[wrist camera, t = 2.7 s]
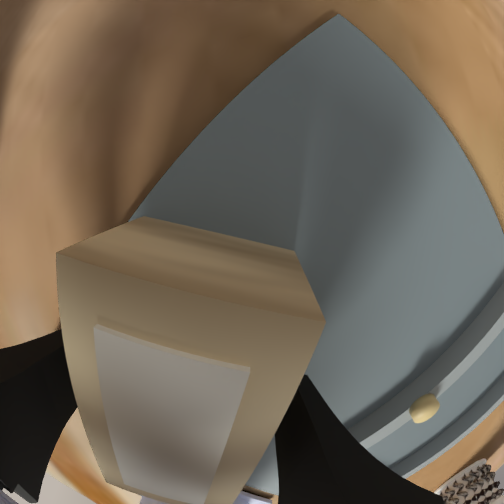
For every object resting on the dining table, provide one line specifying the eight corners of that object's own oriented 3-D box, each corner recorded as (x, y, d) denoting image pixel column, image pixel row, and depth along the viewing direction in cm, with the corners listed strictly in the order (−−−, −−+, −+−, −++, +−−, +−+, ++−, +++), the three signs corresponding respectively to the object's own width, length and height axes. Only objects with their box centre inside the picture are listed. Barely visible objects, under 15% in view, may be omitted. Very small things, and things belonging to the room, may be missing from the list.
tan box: (232, 440, 11) (224, 517, 7) (136, 415, 11) (105, 484, 7) (294, 250, 9) (328, 326, 4) (143, 216, 9) (51, 254, 4)
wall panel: (330, 500, 15) (334, 522, 13) (55, 351, 11) (30, 378, 9) (525, 351, 11) (544, 368, 9) (333, 23, 7) (352, -13, 5)
